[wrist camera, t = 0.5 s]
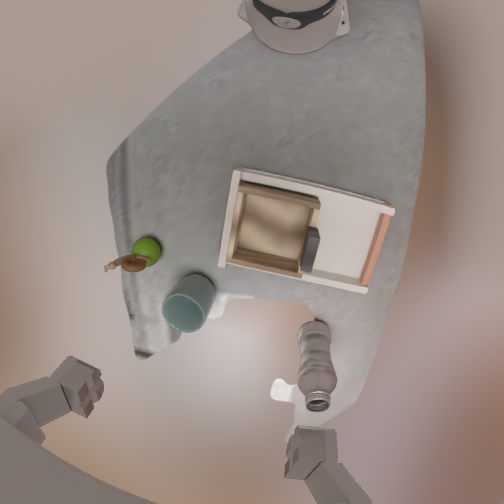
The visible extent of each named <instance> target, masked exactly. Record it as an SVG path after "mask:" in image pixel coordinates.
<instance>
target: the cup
mask: <svg viewBox="0 0 504 504" xmlns="http://www.w3.org/2000/svg"><path fill="white" fill-rule="evenodd" d="M214 298H215V290H214V287H213V285H212V284H211V282H210V281H209V280H208V279H207V278H205V277H204V276H202V275H198V274H192V275H189V276H186V277H185V278H183V279H182V280H181V281H180V282H179V283H178V284H177V285H176V286H175V287H174V288H173V289H172V291H171V292H170V293H169V295H168V296H167V297H166V299H165V300H164V303H163V305H162V313H163V316H164V318H165V319H166V321H167V322H168V323H169V324H170V325H171V326H172V327H174V328H175V329H177V330H179V331H182V332H186V333H190V332H195V331H197V330H198V329H200V328H201V327H202V326H203V324H204V323H205V321H206V319H207V317H208V315H209V313H210V310H211V308H212V305H213V302H214Z"/></svg>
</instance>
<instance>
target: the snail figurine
mask: <svg viewBox="0 0 504 504" xmlns="http://www.w3.org/2000/svg"><path fill="white" fill-rule="evenodd" d="M159 257H160V247H159V245H158V243H157V242H156V241H155V240H153V239H151V238H141V239H139V240H138V241H137V242H136V243H135V244H134V246H133V249H132V255H126V256H123V257H120V258H118V259H116V260H115V261H113V262H110V263H109V265H107V266H109V268H110V269H115V268H116V267H117V266H119V265H121V266H122V268H123V269H124V270H126V271H128V272H138V271H141V270H143V269H145V267H148V266H152V265H153V264H155V263H156V262H157V261H158V259H159ZM107 266H104V268H105V272H107V269H106V268H107Z"/></svg>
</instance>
